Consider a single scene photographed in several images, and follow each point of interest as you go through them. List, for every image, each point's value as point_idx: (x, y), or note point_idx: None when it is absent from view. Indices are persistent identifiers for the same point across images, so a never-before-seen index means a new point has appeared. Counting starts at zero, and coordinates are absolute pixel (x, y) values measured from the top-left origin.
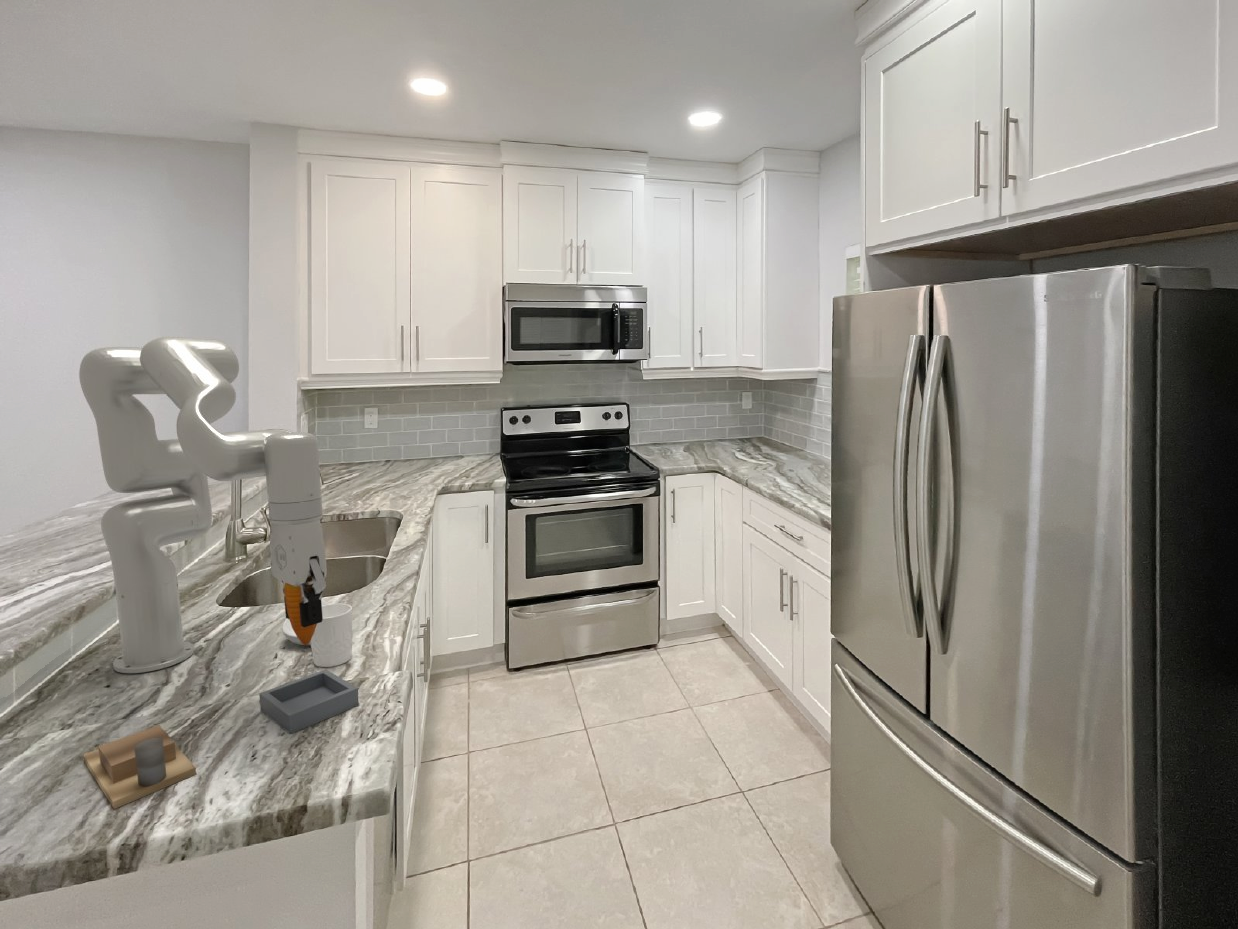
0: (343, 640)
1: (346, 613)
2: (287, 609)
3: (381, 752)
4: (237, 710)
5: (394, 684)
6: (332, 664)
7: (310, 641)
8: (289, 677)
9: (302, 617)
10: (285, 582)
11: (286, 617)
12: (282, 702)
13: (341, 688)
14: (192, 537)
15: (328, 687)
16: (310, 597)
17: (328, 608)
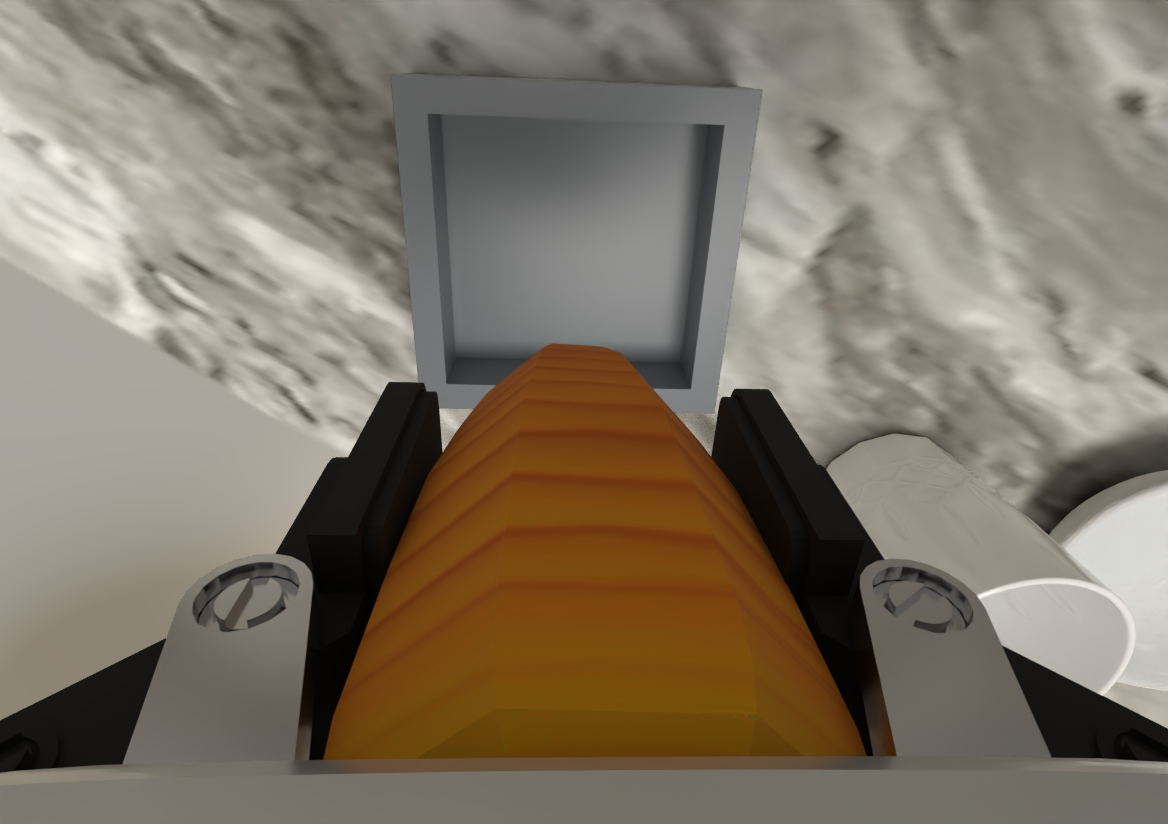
0: None
1: None
2: (645, 418)
3: (9, 246)
4: (844, 10)
5: None
6: (830, 471)
7: (1079, 510)
8: (914, 320)
9: (366, 433)
10: (595, 760)
11: (753, 390)
12: (692, 178)
13: None
14: None
15: (639, 364)
16: (87, 680)
17: (1078, 679)
